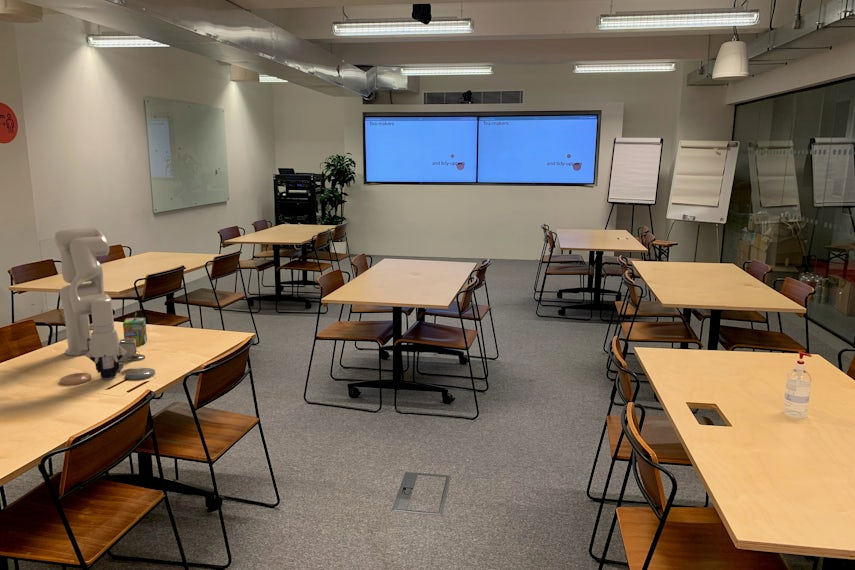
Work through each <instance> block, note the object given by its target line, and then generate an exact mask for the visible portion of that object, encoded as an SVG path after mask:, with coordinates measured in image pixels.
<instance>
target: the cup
mask: <svg viewBox="0 0 855 570" xmlns="http://www.w3.org/2000/svg"><path fill="white" fill-rule="evenodd" d="M119 341H125V342H135V345H136V340H135V339H133V338H127V339H124V338H122V339H119ZM120 346H121V347H122V348H124V349H125V350H126V351H127V353H126V354H125V355H124V356H123V357H122V358H121V359H120V360H119V362H120V361H121V362H120V363H131V362H130V361H127V357H129V356H132V352H135V348H134V345H132V344H120ZM136 346H137V345H136ZM136 352H138V351H137V349H136ZM120 354H122V352H121V351H120V352H119V354H118V356H119V355H120Z"/></svg>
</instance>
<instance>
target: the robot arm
mask: <svg viewBox="0 0 855 570" xmlns="http://www.w3.org/2000/svg"><path fill="white" fill-rule="evenodd" d="M54 243H55V245H56V247H57V249H58V250H59V253H60V261H61V274H62V278H63V281H64V282H65V283H67V284H68V285H65V286H63V287H61V288H60V290H59V298H60V301H61V305H62V307H63V315H64V324H65V330H66V331H65V332H66V340H67V346H68V347H67V348H66V349H65V350H64V354H65V355H66V356H72V357H73V356H76V357H77V356H80V355H79V352H80V351H82V350H85V349H88V346H87V339H88V338H91V341H88V342H89V349H90V350H89V351H88V352H87V354H86V355H85V357H86V358H88V359H89V360H91V361H92V362H93V363H94V364H95V370H96V371H97V374H101V373H100V364H99V357H104V355H106V356H108V357H112V356H113V358H114V360H115V362H114V367H115V372H117V371H118V369H119V368H120V366H119V364H120V359H121V358H122V357H123V356H124V355H125V354H126V353H127V351H126V350H125V349H124V348H122V347H121V346H120V343H119V340H120V339H119V338H120V337H119V335H118V331H117V330H116V329H115V322H114V313H113V310H114V309H113V302H112V298H111V296H109V294H107V293H105V291H104V290H105V289H104V274H103V273H104V270H103V267H102V264H101V263H100V262H99V261H98V260H97V257H105V256H108V255H109V253H110V245H109V242H108V240H107V237H106V236H105V235H104V234H103V232H101V230H100V229H98V228H94V227H89V228H87V227H86V228H74V229H73V228H71V229H60V230H58V231H56V232H55V233H54ZM89 315H91V319H92V320H91V321H92V324H90V316H89ZM90 325H91V326H90ZM91 331H92V332H91ZM120 351H121V352H122V354H120V355H119V356H118V354H119V352H120ZM117 373H118V372H117Z"/></svg>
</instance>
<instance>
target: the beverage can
mask: <svg viewBox="0 0 855 570" xmlns="http://www.w3.org/2000/svg"><path fill="white" fill-rule="evenodd" d="M114 362H115V360H114V358H113V356H112V357H108V356H106V355H104V357H99V364H100V373H99V374H100V378H101V379H102V380H105V381H106V380H107V381H108V380H112V379H114V378H115V377H116V376H117V373H116V372H115V367H114Z"/></svg>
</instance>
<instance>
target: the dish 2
mask: <svg viewBox="0 0 855 570" xmlns="http://www.w3.org/2000/svg"><path fill="white" fill-rule="evenodd" d="M154 374H155V375H156V370H155V369H154V368H150V367H149V368H148V367H143V368H136V369H132V370H129V371H127V372H126V373H125V378H126V379H127V380H130V381H141V379H142V380H146V379H145V378H147V379H150V378H152V377H154V376H155V375H154ZM153 375H154V376H153ZM151 376H152V377H151ZM149 377H150V378H149Z"/></svg>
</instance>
